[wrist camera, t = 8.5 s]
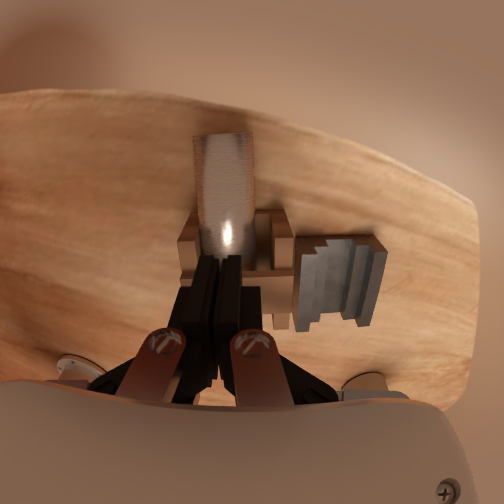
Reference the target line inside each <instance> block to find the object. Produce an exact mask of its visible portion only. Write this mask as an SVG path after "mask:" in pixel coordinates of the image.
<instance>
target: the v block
mask: <svg viewBox="0 0 504 504" xmlns="http://www.w3.org/2000/svg"><path fill="white" fill-rule="evenodd" d="M387 254H388V251H387V250H386V249H385V248H384V246H383V245H382V244H381V243H380V242H379V240H378V239H377V238H376V237H375V236H374V235H332V236H296V242H295V263H294V281H293V297H292V314H293V320H294V325H295V331H296V332H308V331H309V326H310V322H319V319H320V313H334V312H340V313H341V316H342V318H343V320H348V319H355V321H356V324H357V326H358V327H363V326H369V325H370V322H371V319H372V315H373V311H374V308H375V304H376V300H377V297H378V293H379V289H380V285H381V281H382V276H383V272H384V268H385V263H386V259H387Z"/></svg>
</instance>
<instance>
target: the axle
mask: <svg viewBox="0 0 504 504" xmlns="http://www.w3.org/2000/svg"><path fill="white" fill-rule="evenodd" d="M193 152H194V167H195V180H196V193H197V205H198V216H199V226H200V236H201V246H202V255H214V259H217V258H219V264H220V271H221V265H222V259H223V258H227V257H228V255H241V258H242V271H257V263H256V225H255V189H254V154H253V132H234V133H216V134H204V135H194V136H193Z"/></svg>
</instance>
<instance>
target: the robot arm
mask: <svg viewBox="0 0 504 504" xmlns="http://www.w3.org/2000/svg"><path fill="white" fill-rule="evenodd" d="M218 366H219V370H220V376H221V380H224V387H225V389H227V390H228V391H229V392H230V393H231V394H232V395H234V396H235V402H236V407H233V406H204V405H198V402H199V399H200V393H199V392H201V391H202V390H204V389H205V388H207V387H211V386H212V379H216V380H217V376H218ZM57 370H58V372H59V374H60V377H59V379H58V380H45V381H41V380H33V379H15V380H8V381H5V382H2V383H0V504H479V500H478V496H477V492H476V488H475V484H474V481H473V477H472V473H471V470H470V467H469V464H468V461H467V458H466V456H465V453H464V450H463V448H462V445H461V443H460V441H459V438H458V436H457V434H456V432H455V430H454V428H453V427H452V425H451V423H450V421H449V420H448V418H447V417H446V416H445V415H444V413H443V412H442V411H441V410H439V409H438V408H437V407H435V406H433V405H431V404H429V403H426V402H422V401H418V400H412V399H409V397H408V396H407V395H405V394H403V393H402V392H398V391H379V390H358V389H344V390H343V391H335V390H334V389H333V388H332V387H331V386H329V385H328V384H326V383H325V382H323V381H321V380H320V379H318V378H316V377H315V376H313V375H311V374H310V373H308V372H307V371H305V370H303V369H302V368H300V367H299V366H297V365H296V364H294V363H292V362H291V361H289V360H288V359H286V358H285V357H283V356H282V355H280V354H279V352H278V349H277V346H276V342H275V340H274V338H273V337H272V336H271V335H270V334H269V333H267V332H265V331H263V328H262V307H261V288H260V286H242V258H241V255H228V257H227V258H223V259H222V265H221V271H220V264H219V258H217V259H214V255H200V257H199V260H198V263H197V267H196V270H195V274H194V277H193V280H192V284H191V286H181V287H180V289H179V292H178V295H177V298H176V301H175V304H174V307H173V310H172V313H171V316H170V320H169V323H168V326H167V328H161V329H158V330H155V331H153V332H152V333H150V334H149V335H148V336H147V337H146V339H145V340H144V342H143V344H142V346H141V348H140V349H139V351H138V353H137V355H136V357H134V358H132V359H130V360H129V361H127V362H125V363H123V364H121V365H119V366H118V367H116V368H114V369H112V370H110V371H108V372H107V373H106V372H105V371H104V370H102V369H101V368H100V367H98V366H97V365H95V364H93V363H92V362H90V361H88V360H86V359H83V358H80V357H77V356H72V355H66V356H62V357H60V359H59V360H58V362H57Z"/></svg>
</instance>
